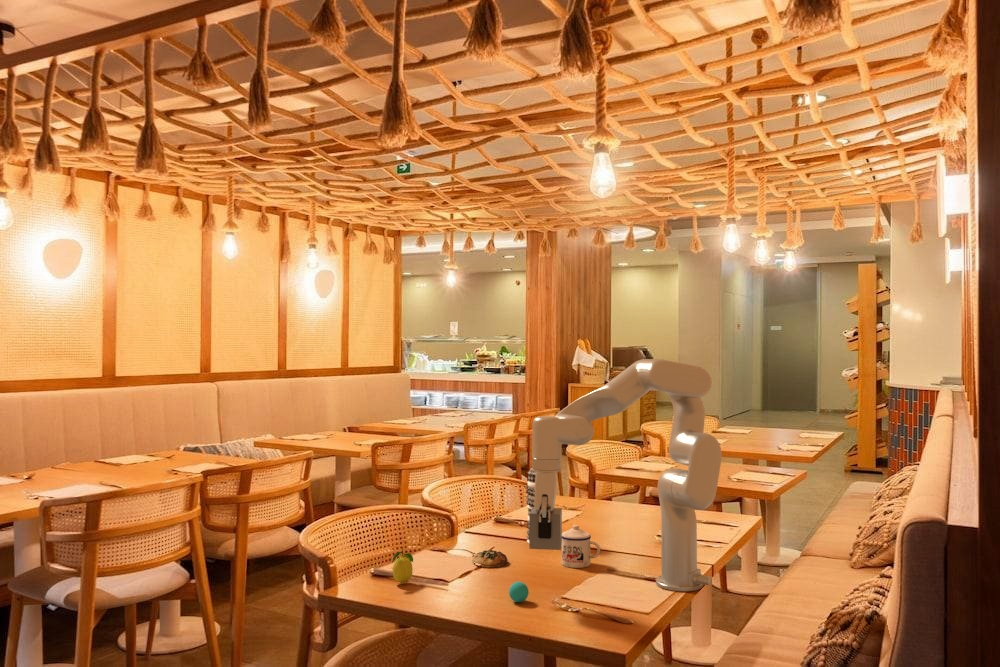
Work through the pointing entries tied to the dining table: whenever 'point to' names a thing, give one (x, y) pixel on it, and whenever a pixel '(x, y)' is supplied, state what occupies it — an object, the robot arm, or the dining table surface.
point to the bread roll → (490, 559)
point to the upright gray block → (556, 531)
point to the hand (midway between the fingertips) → (545, 533)
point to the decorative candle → (530, 494)
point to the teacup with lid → (577, 548)
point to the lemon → (402, 567)
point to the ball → (518, 592)
